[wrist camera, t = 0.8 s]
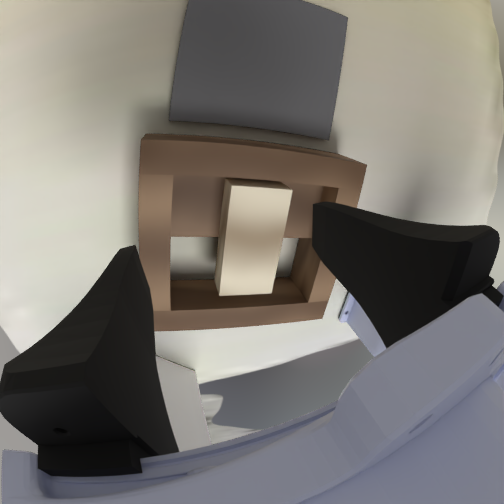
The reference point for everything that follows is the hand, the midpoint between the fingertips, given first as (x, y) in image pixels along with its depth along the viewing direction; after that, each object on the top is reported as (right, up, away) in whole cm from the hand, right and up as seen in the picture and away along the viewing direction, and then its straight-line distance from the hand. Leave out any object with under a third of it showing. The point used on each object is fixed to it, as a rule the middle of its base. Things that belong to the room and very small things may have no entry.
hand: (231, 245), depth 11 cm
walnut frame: (0, +2, +12) cm, 12 cm away
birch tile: (0, +1, +10) cm, 10 cm away
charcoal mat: (+2, +14, +6) cm, 15 cm away
